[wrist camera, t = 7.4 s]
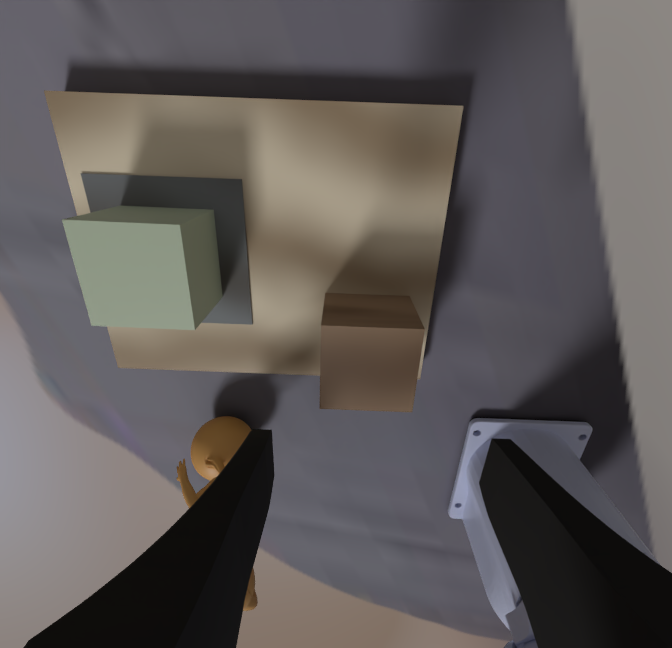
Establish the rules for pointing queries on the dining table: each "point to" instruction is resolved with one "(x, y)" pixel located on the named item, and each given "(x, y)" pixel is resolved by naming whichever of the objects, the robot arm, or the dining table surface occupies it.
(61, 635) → the robot arm
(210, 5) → the dining table surface
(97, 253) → the sage block
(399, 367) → the walnut block
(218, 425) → the figurine
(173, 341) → the baseplate
